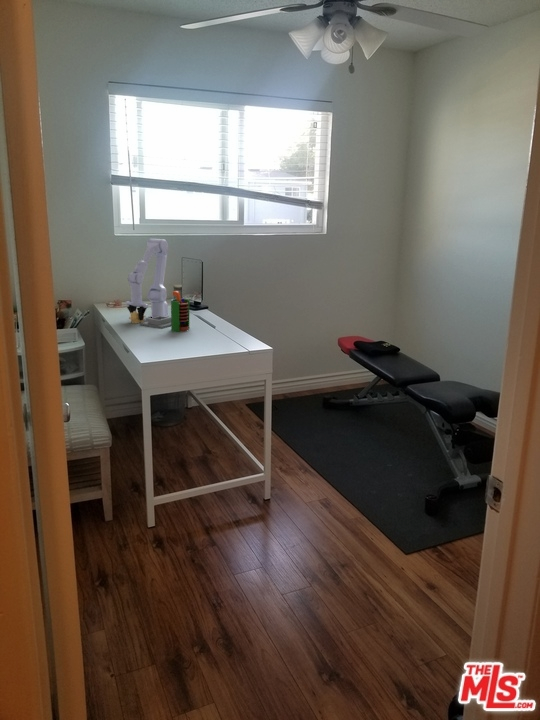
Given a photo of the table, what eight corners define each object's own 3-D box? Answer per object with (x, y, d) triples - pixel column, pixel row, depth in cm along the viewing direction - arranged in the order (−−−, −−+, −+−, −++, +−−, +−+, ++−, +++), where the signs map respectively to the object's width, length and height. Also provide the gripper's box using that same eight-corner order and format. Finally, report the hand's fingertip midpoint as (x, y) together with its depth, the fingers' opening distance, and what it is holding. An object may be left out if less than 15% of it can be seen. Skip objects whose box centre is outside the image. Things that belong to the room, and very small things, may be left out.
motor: (184, 332, 276) (184, 293, 271) (168, 331, 278) (167, 292, 273) (191, 328, 286) (190, 290, 281) (175, 327, 288) (174, 289, 282)
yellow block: (140, 320, 303) (139, 309, 301) (145, 321, 301) (145, 310, 299) (129, 323, 295) (128, 311, 294) (134, 324, 293) (134, 312, 292)
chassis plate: (157, 320, 303) (157, 314, 302) (178, 323, 296) (178, 317, 295) (140, 325, 291) (140, 318, 290) (162, 328, 284) (161, 321, 283)
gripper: (121, 294, 294) (122, 319, 298) (141, 297, 287) (142, 322, 291) (130, 292, 300) (131, 317, 304) (150, 295, 293) (151, 320, 297)
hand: (137, 319), depth 298 cm, fingers open, 5 cm apart
